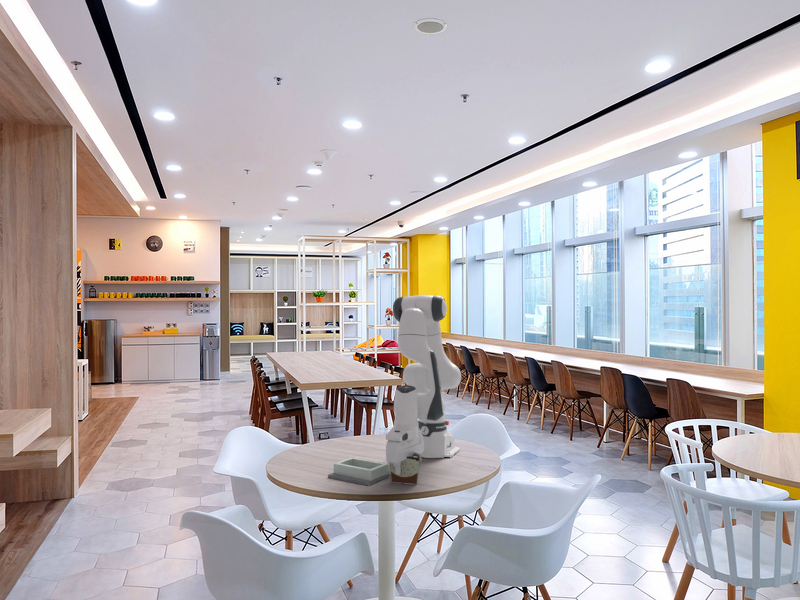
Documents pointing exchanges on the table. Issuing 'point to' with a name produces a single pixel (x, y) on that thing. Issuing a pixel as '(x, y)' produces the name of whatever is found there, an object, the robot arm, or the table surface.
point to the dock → (360, 471)
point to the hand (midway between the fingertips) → (405, 470)
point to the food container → (407, 470)
